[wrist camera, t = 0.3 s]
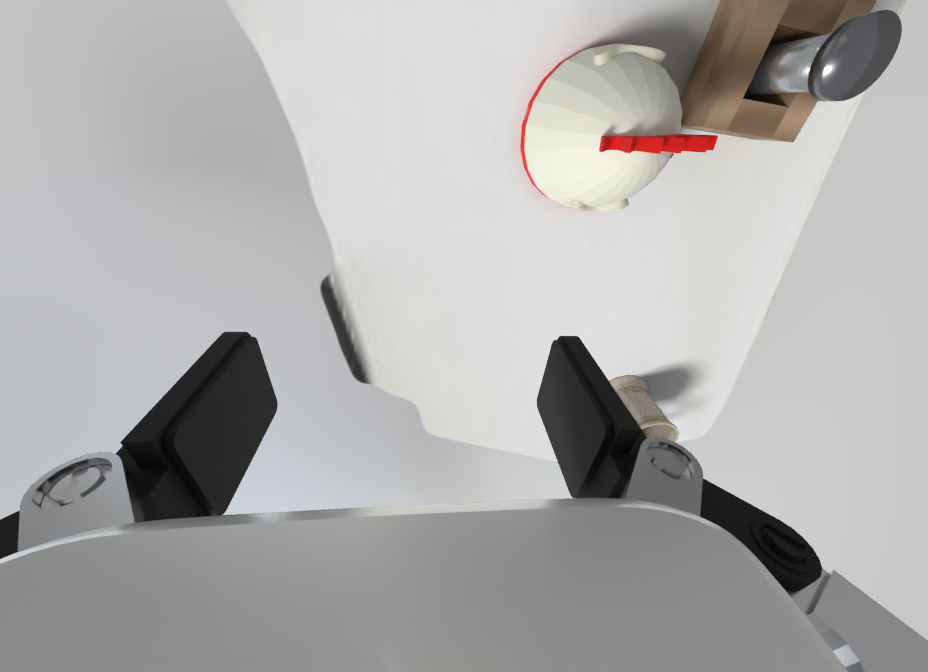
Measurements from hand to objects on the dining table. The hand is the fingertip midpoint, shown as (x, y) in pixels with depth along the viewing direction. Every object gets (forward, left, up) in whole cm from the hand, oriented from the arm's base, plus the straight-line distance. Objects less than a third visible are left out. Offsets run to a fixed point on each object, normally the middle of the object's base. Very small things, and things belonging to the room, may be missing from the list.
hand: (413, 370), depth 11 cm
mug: (+32, +38, -31) cm, 58 cm away
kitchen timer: (-7, +17, -31) cm, 36 cm away
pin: (-14, +31, -31) cm, 46 cm away
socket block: (-14, +31, -31) cm, 46 cm away
